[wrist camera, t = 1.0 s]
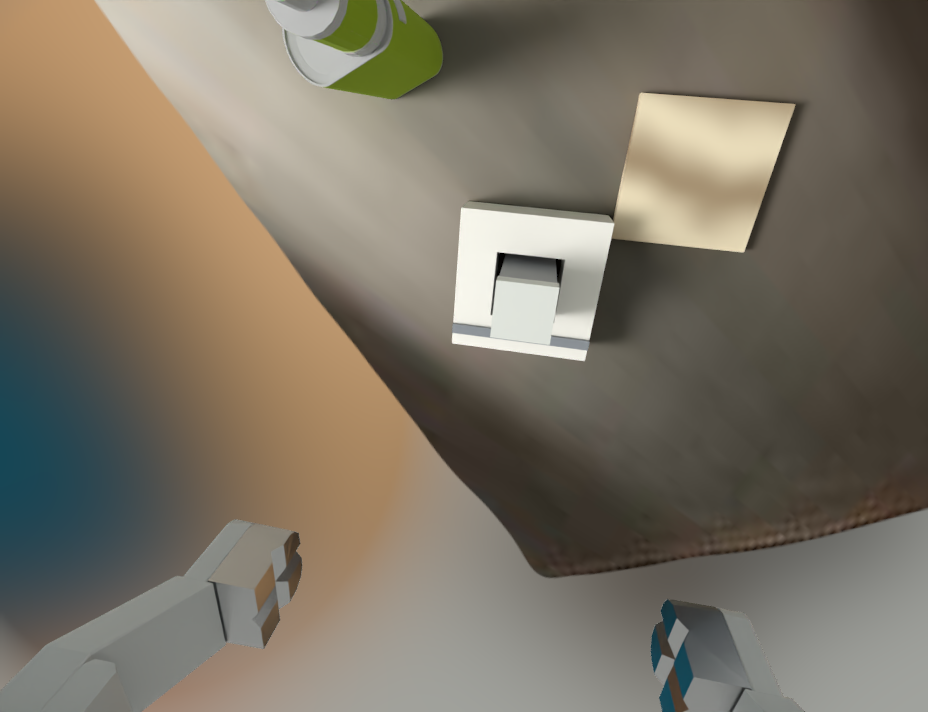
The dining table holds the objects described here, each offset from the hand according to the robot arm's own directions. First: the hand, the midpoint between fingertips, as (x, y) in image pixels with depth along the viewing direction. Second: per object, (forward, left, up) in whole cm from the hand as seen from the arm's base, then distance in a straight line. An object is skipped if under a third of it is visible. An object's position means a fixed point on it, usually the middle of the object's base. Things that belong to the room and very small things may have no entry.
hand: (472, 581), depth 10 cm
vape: (-13, -11, -32) cm, 36 cm away
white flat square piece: (+2, 0, -32) cm, 32 cm away
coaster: (-7, +11, -32) cm, 35 cm away
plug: (+2, 0, -32) cm, 32 cm away
